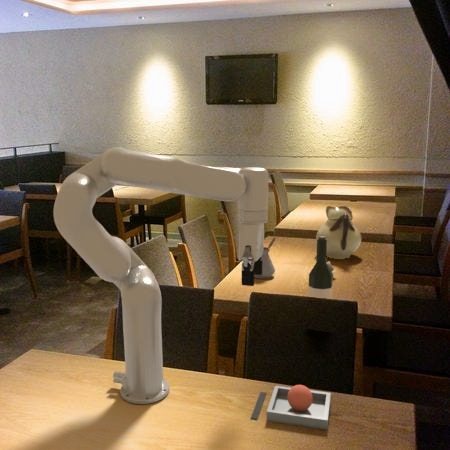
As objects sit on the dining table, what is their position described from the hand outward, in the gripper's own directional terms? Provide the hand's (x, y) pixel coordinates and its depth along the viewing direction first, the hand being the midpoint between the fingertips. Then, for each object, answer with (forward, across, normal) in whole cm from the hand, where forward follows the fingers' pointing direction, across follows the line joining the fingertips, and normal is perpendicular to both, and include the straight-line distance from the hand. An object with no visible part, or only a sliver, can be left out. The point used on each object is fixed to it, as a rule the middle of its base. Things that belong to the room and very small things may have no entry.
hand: (252, 279), depth 132 cm
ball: (+24, +13, +15) cm, 32 cm away
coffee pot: (+28, -94, -15) cm, 100 cm away
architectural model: (+28, -94, +13) cm, 99 cm away
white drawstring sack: (+27, -132, +16) cm, 136 cm away
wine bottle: (+28, -46, +14) cm, 55 cm away
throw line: (+28, +13, +5) cm, 31 cm away
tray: (+28, +13, +15) cm, 34 cm away
